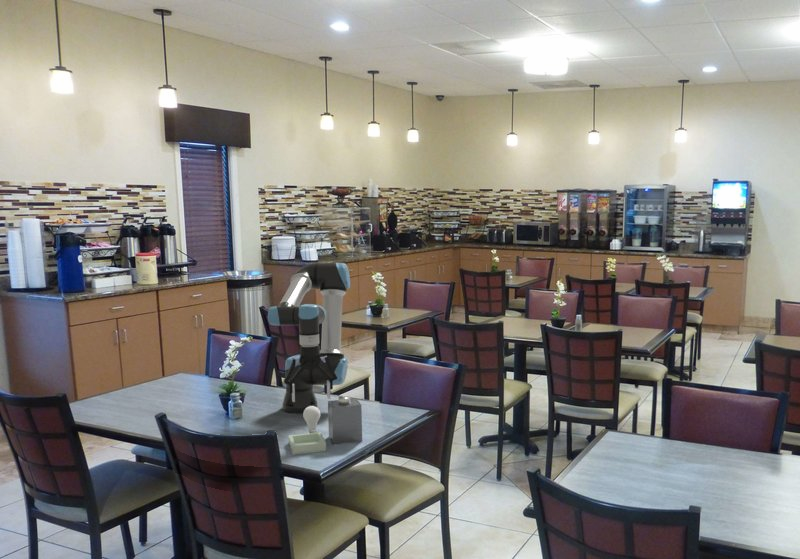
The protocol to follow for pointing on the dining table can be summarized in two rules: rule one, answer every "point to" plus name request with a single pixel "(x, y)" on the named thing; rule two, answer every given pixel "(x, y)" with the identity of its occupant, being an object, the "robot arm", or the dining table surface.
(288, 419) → the dining table surface
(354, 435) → the housing
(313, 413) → the light bulb
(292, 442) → the tray
